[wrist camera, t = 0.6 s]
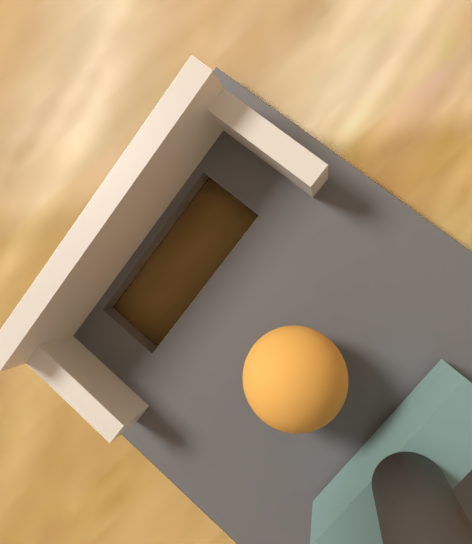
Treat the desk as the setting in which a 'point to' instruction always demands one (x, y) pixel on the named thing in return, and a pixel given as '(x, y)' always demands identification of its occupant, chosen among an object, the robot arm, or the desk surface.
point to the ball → (295, 379)
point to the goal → (133, 237)
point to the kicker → (406, 473)
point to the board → (287, 312)
